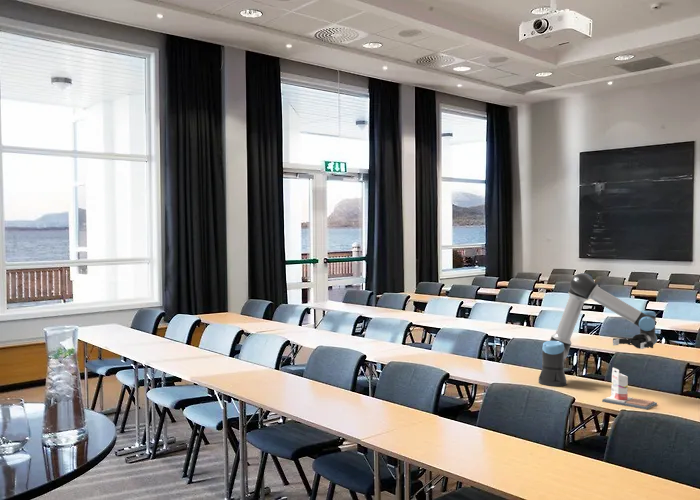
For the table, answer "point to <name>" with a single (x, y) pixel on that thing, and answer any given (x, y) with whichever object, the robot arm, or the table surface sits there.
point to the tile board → (631, 402)
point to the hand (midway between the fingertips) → (627, 344)
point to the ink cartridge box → (619, 385)
